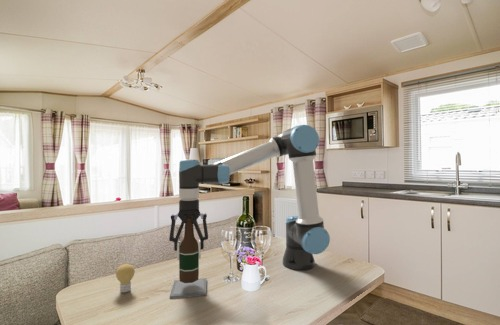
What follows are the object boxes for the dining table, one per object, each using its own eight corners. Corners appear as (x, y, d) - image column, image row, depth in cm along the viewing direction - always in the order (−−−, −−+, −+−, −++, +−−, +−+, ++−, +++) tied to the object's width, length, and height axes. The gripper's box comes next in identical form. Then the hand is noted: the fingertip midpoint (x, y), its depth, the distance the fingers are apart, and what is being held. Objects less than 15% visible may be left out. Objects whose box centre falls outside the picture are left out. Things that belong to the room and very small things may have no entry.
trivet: (206, 280, 109) (206, 278, 109) (206, 295, 96) (206, 293, 96) (174, 282, 107) (174, 280, 107) (169, 298, 94) (169, 295, 94)
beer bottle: (194, 284, 97) (194, 219, 97) (175, 282, 99) (175, 218, 99) (202, 275, 105) (202, 215, 105) (184, 274, 106) (184, 214, 107)
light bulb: (131, 285, 105) (130, 260, 105) (137, 291, 100) (137, 264, 100) (113, 291, 100) (113, 264, 100) (119, 297, 96) (119, 269, 96)
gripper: (215, 197, 107) (215, 253, 107) (163, 198, 104) (163, 256, 104) (215, 199, 100) (215, 260, 100) (160, 201, 97) (160, 263, 97)
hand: (189, 258), depth 102 cm, fingers closed on beer bottle, 7 cm apart
